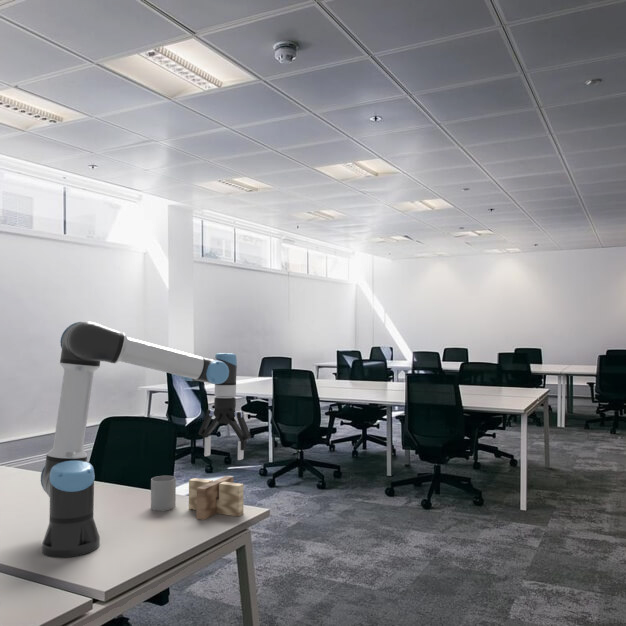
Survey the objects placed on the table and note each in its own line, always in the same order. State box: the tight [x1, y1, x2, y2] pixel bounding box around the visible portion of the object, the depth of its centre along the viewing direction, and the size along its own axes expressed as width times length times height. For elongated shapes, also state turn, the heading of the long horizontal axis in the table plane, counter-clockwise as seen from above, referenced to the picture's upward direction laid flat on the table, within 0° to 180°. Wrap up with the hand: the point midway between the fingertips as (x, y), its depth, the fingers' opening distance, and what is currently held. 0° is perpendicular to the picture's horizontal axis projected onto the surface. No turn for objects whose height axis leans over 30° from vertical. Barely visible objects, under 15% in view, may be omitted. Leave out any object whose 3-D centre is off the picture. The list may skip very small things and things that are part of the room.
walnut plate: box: [196, 475, 234, 521], centre depth 202 cm, size 18×3×10 cm, turn 156°
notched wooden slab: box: [188, 477, 244, 517], centre depth 202 cm, size 20×3×10 cm, turn 66°
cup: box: [150, 475, 177, 511], centre depth 207 cm, size 8×8×10 cm
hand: (223, 457), depth 207 cm, fingers open, 13 cm apart
